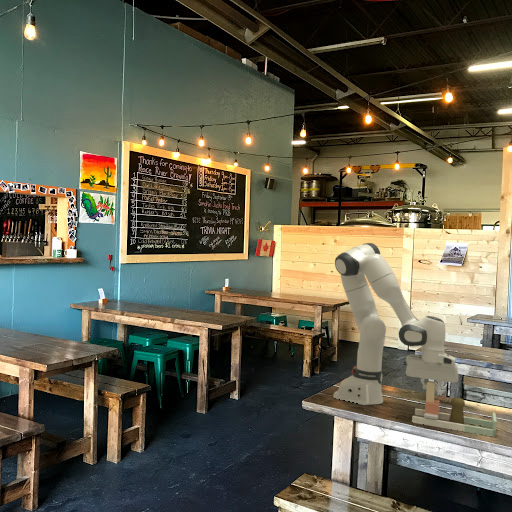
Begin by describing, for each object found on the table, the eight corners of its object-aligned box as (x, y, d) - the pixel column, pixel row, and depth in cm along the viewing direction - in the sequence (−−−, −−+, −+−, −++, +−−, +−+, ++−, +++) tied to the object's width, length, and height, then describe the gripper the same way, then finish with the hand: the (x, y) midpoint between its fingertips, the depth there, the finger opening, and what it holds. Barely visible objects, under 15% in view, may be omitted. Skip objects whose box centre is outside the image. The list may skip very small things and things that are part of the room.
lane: (412, 422, 201) (412, 407, 201) (415, 414, 212) (415, 400, 212) (495, 437, 189) (496, 421, 189) (494, 427, 200) (495, 412, 200)
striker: (423, 423, 199) (425, 384, 199) (426, 414, 211) (428, 377, 211) (437, 426, 197) (439, 386, 197) (439, 416, 209) (441, 379, 209)
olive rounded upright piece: (446, 425, 200) (447, 398, 200) (451, 422, 205) (453, 395, 204) (461, 429, 196) (463, 401, 196) (466, 426, 201) (468, 398, 200)
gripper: (405, 354, 205) (403, 387, 206) (458, 361, 197) (456, 396, 197) (407, 351, 211) (405, 384, 211) (459, 358, 203) (457, 392, 203)
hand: (430, 390), depth 204 cm, fingers closed on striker, 3 cm apart
